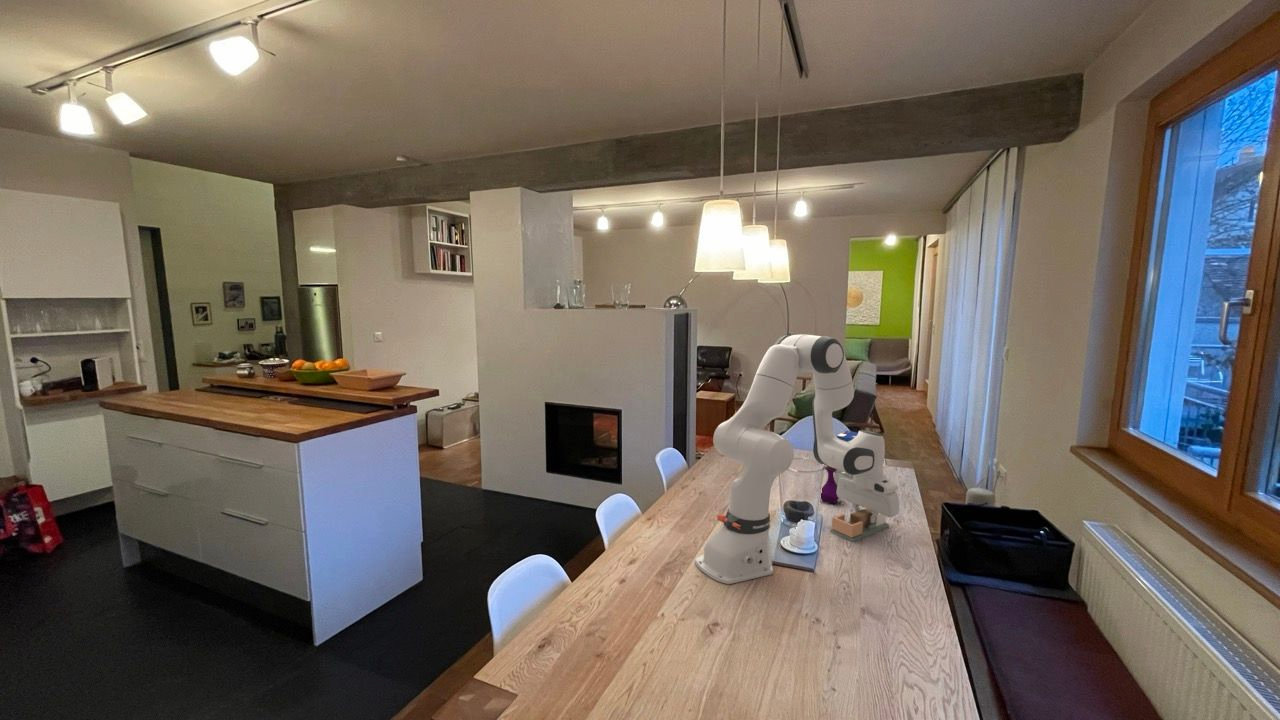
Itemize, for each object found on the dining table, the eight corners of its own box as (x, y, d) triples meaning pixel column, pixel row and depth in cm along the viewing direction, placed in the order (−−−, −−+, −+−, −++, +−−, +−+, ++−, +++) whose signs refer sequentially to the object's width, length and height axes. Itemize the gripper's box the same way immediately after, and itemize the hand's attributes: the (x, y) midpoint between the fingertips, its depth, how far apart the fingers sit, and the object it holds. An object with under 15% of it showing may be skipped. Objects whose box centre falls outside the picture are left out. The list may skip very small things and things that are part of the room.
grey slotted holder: (852, 542, 152) (853, 526, 151) (830, 531, 159) (831, 517, 158) (888, 526, 163) (889, 512, 162) (866, 517, 169) (867, 504, 169)
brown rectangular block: (858, 530, 157) (858, 517, 157) (849, 527, 160) (850, 513, 159) (879, 522, 164) (880, 509, 163) (870, 518, 166) (871, 506, 166)
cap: (851, 537, 152) (852, 526, 152) (831, 528, 158) (832, 517, 158) (862, 533, 155) (863, 522, 155) (842, 524, 161) (842, 513, 161)
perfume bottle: (837, 506, 179) (840, 459, 177) (816, 501, 183) (819, 454, 181) (842, 500, 185) (845, 454, 182) (822, 495, 189) (825, 450, 187)
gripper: (833, 471, 167) (831, 510, 169) (892, 491, 150) (888, 533, 152) (845, 468, 170) (842, 506, 172) (903, 487, 153) (900, 529, 155)
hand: (864, 519), depth 162 cm, fingers open, 3 cm apart
